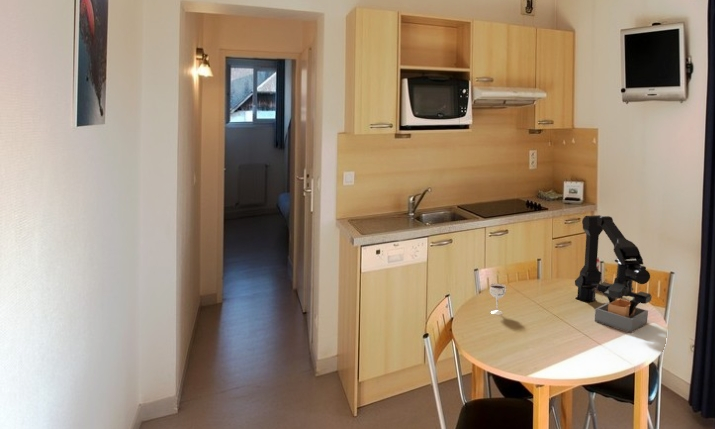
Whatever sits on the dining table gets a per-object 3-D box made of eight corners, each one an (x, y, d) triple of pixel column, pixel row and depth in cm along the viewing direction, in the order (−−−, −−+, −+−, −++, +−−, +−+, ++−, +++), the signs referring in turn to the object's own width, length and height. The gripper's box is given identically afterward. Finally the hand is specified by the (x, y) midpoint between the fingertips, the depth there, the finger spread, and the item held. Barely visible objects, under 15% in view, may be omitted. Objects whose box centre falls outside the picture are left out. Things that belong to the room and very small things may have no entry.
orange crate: (607, 315, 184) (608, 303, 183) (618, 309, 189) (619, 298, 188) (624, 320, 179) (625, 308, 178) (634, 314, 184) (635, 302, 183)
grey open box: (594, 321, 186) (595, 308, 185) (611, 312, 194) (612, 300, 193) (630, 333, 175) (632, 319, 174) (646, 323, 183) (648, 310, 182)
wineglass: (487, 313, 196) (488, 287, 193) (490, 308, 202) (491, 282, 199) (503, 316, 193) (504, 289, 190) (506, 310, 198) (507, 284, 196)
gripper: (591, 274, 184) (588, 310, 187) (641, 286, 169) (637, 325, 172) (604, 268, 190) (601, 303, 193) (654, 280, 175) (649, 317, 178)
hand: (621, 312), depth 184 cm, fingers closed on orange crate, 6 cm apart
